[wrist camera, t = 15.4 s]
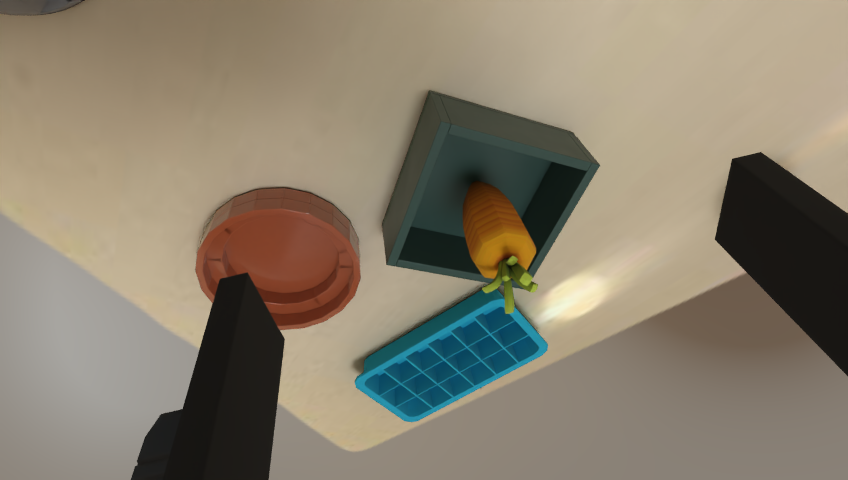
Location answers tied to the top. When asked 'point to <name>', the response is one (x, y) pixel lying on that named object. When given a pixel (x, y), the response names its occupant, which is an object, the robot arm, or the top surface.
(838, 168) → the top surface
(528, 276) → the carrot
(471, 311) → the ice cube tray
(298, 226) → the bowl
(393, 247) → the bin
